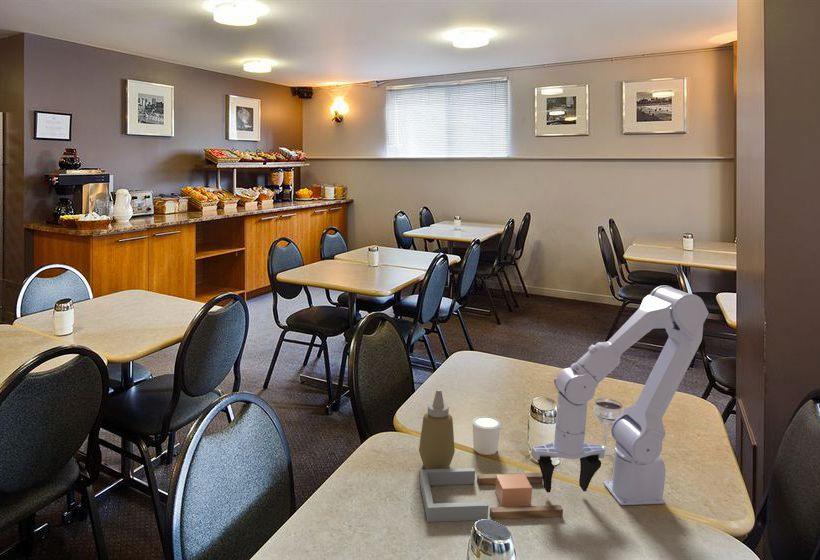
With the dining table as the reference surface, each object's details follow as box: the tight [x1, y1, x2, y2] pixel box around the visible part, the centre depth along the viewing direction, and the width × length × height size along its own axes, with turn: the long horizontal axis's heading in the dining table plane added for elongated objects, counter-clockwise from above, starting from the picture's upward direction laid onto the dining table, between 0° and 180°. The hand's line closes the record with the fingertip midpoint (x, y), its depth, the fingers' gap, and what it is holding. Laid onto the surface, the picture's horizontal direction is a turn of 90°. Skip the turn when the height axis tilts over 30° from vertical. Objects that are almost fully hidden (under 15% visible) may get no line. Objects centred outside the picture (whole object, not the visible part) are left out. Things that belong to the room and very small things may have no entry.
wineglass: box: [592, 397, 625, 456], centre depth 125 cm, size 7×7×12 cm
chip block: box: [494, 473, 533, 507], centre depth 106 cm, size 6×5×4 cm
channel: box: [476, 472, 564, 520], centre depth 106 cm, size 14×13×2 cm
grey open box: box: [419, 467, 489, 523], centre depth 105 cm, size 12×13×3 cm
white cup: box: [471, 415, 502, 456], centre depth 125 cm, size 7×7×7 cm
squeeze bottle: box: [418, 389, 455, 469], centre depth 116 cm, size 8×8×18 cm
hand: (565, 489), depth 107 cm, fingers open, 7 cm apart
